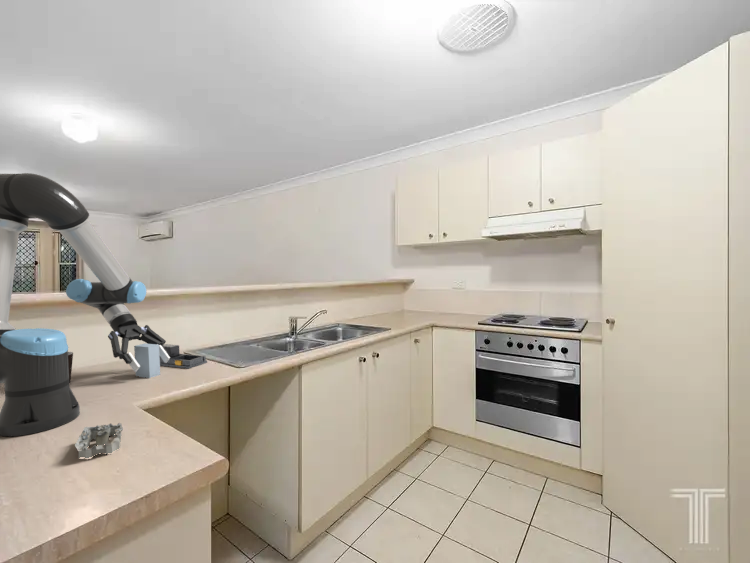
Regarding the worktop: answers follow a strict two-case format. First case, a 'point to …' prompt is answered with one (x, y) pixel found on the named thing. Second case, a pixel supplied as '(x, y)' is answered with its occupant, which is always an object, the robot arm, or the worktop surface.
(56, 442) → the worktop surface
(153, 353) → the light blue upright block
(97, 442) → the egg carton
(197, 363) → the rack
